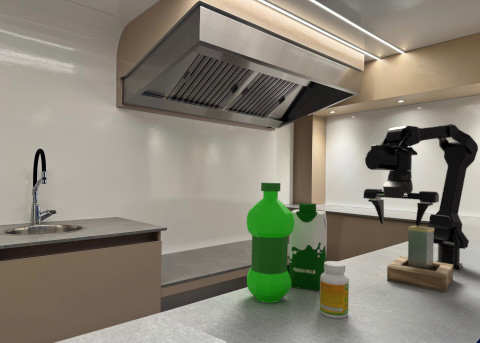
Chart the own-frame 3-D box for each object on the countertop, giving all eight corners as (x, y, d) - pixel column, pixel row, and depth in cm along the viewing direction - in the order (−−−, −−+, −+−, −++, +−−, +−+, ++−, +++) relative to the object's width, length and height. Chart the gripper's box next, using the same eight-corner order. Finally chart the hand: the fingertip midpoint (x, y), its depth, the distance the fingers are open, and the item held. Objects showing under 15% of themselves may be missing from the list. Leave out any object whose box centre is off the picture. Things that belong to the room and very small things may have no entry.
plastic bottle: (300, 296, 74) (302, 183, 74) (275, 311, 66) (278, 183, 66) (262, 286, 80) (264, 181, 80) (235, 299, 72) (237, 182, 72)
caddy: (400, 270, 97) (400, 256, 97) (452, 279, 89) (453, 264, 89) (387, 280, 87) (387, 265, 87) (445, 292, 79) (445, 275, 79)
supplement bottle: (349, 320, 62) (350, 268, 63) (319, 317, 64) (321, 266, 64) (346, 309, 68) (347, 261, 68) (319, 306, 69) (320, 259, 69)
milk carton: (285, 288, 80) (287, 203, 80) (292, 277, 88) (294, 200, 88) (323, 293, 77) (325, 205, 77) (327, 281, 85) (328, 202, 86)
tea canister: (414, 273, 91) (415, 225, 91) (433, 277, 88) (434, 227, 88) (407, 276, 88) (408, 227, 88) (426, 281, 85) (427, 229, 85)
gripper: (357, 169, 95) (356, 224, 95) (432, 170, 84) (431, 233, 84) (370, 170, 104) (369, 221, 104) (439, 171, 92) (438, 228, 92)
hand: (399, 225), depth 96 cm, fingers open, 9 cm apart
